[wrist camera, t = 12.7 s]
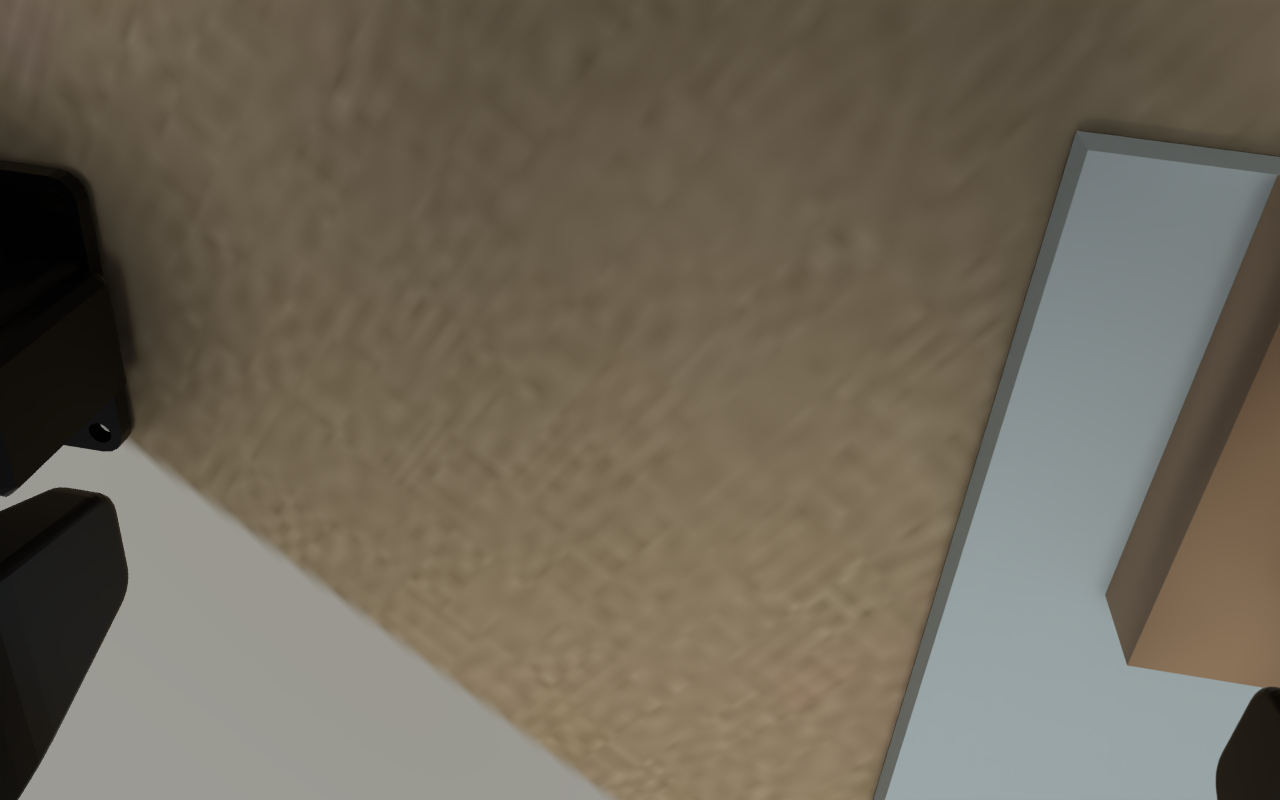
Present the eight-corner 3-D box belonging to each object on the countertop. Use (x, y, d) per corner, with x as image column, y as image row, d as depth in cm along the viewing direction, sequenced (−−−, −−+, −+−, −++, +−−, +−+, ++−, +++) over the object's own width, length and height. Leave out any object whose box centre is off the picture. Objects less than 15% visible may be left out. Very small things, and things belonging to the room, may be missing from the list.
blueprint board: (868, 813, 29) (870, 847, 28) (1076, 130, 19) (1087, 149, 18) (1396, 906, 28) (1413, 944, 27) (1892, 236, 18) (1944, 261, 17)
